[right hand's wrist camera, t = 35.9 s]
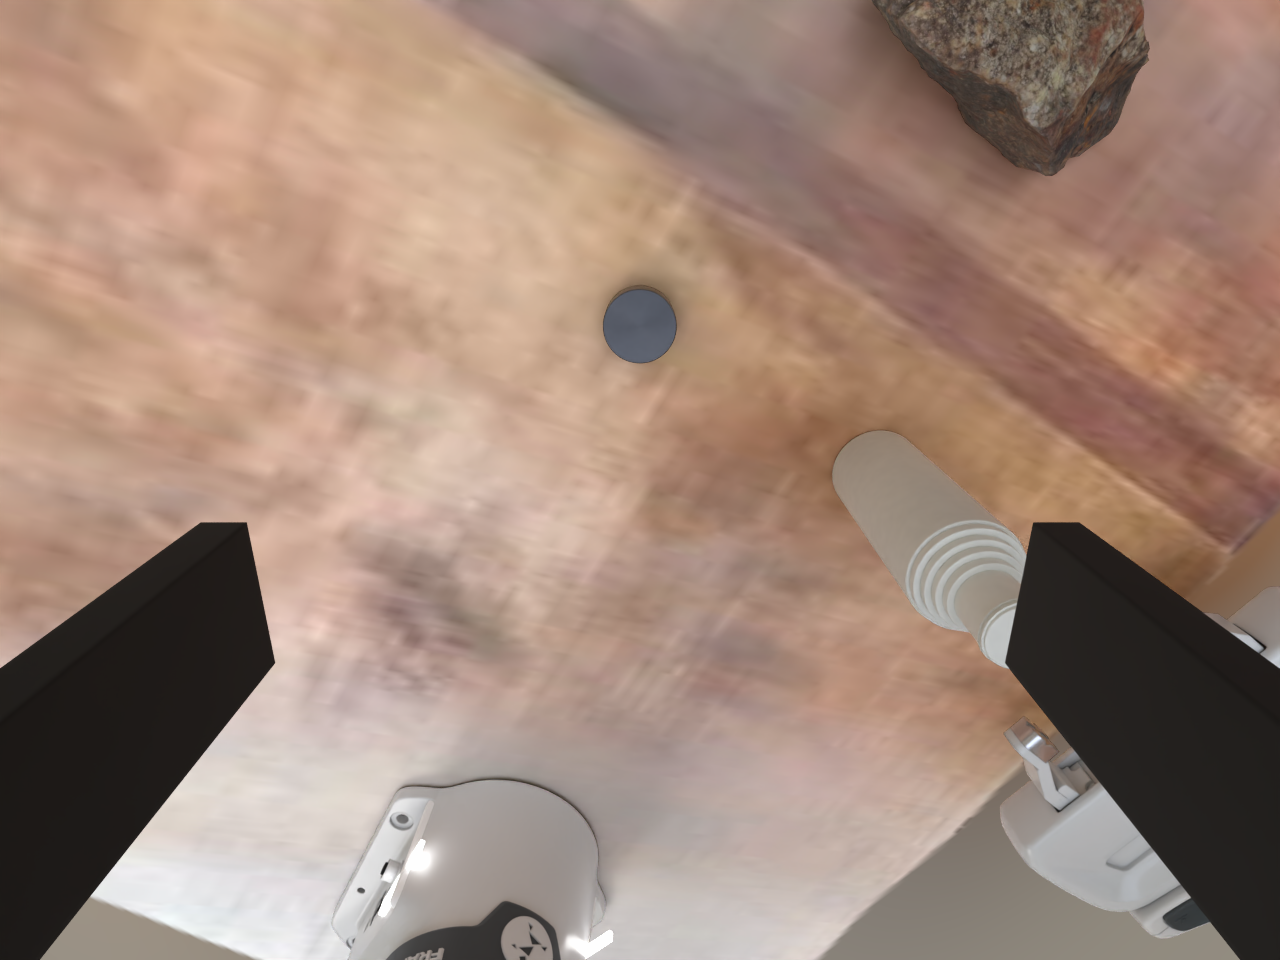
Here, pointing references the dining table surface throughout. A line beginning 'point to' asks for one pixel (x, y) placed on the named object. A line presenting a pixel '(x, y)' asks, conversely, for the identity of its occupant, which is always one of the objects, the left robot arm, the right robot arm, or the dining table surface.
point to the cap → (639, 324)
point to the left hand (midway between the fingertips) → (1087, 673)
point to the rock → (1029, 68)
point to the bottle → (933, 538)
